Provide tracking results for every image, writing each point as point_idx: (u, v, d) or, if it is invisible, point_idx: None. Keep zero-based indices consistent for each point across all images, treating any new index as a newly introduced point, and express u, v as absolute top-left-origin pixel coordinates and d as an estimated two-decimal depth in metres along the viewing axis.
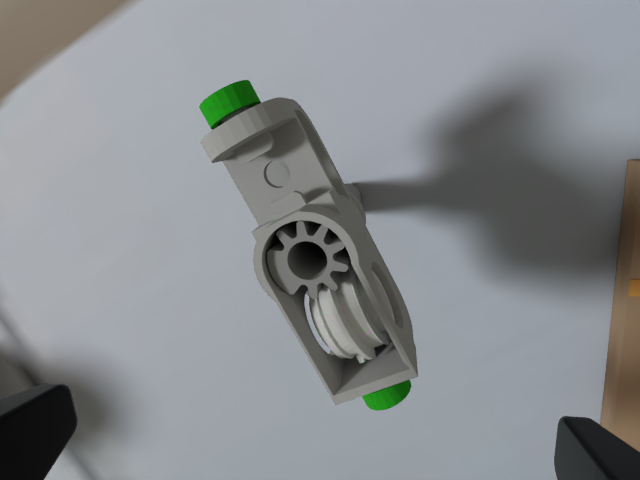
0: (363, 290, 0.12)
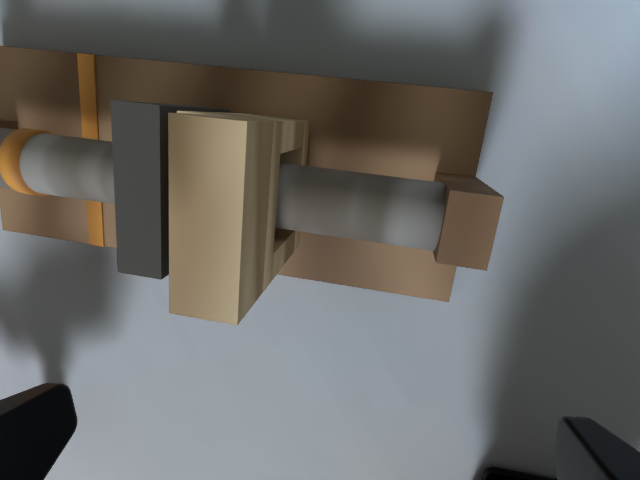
0: None
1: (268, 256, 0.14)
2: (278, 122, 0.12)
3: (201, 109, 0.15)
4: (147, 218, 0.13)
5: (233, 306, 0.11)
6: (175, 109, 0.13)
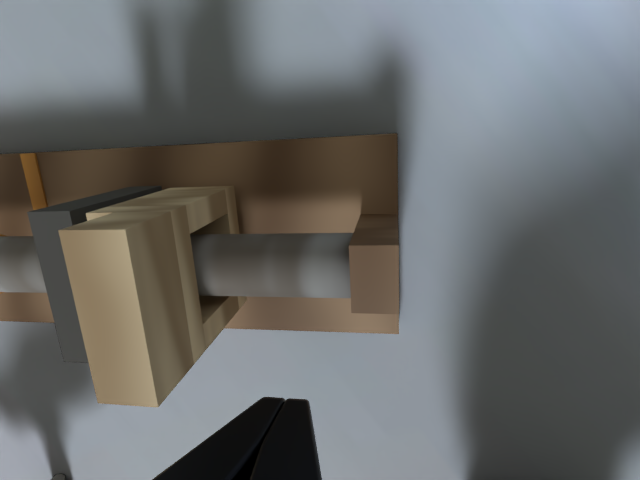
0: None
1: (195, 329, 0.15)
2: (178, 209, 0.13)
3: (123, 197, 0.16)
4: None
5: (151, 390, 0.12)
6: (90, 208, 0.14)
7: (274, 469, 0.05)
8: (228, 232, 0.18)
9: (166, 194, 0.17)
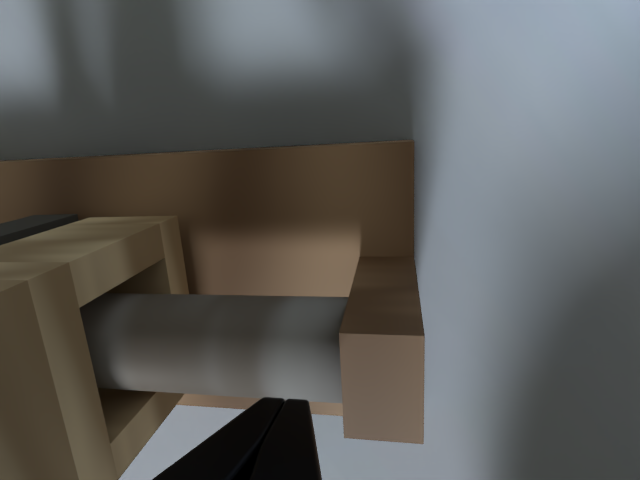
0: None
1: (92, 459, 0.09)
2: (49, 272, 0.08)
3: None
4: None
5: None
6: None
7: (274, 469, 0.05)
8: (167, 284, 0.12)
9: (68, 232, 0.11)
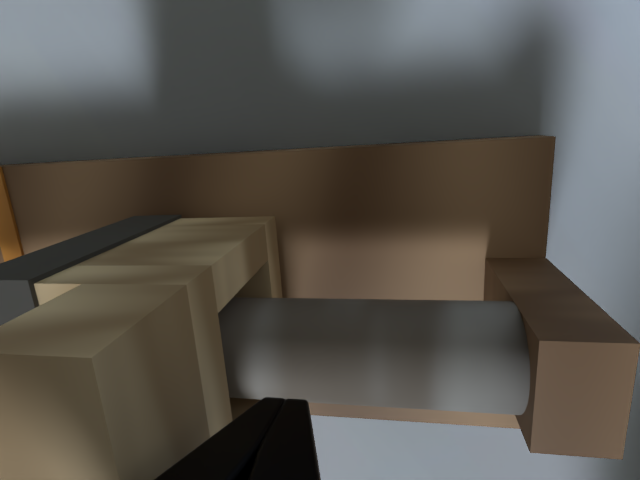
0: None
1: None
2: (199, 276, 0.07)
3: (126, 240, 0.10)
4: None
5: None
6: (68, 267, 0.08)
7: (273, 469, 0.05)
8: (268, 288, 0.12)
9: (175, 234, 0.11)
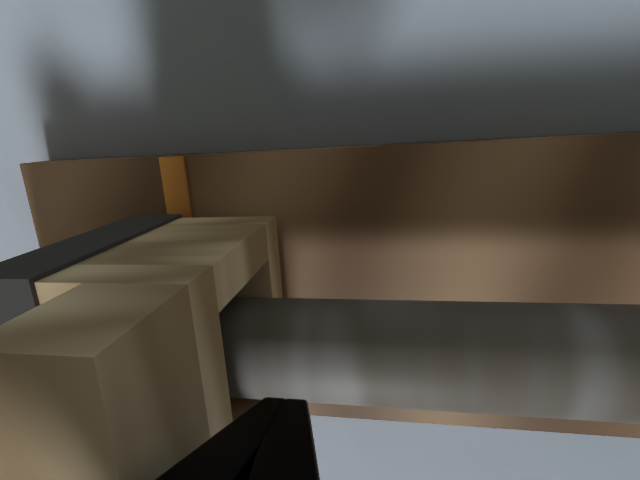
0: None
1: None
2: (201, 276, 0.07)
3: (126, 239, 0.10)
4: None
5: None
6: (69, 266, 0.08)
7: (272, 469, 0.05)
8: (268, 287, 0.12)
9: (175, 233, 0.11)
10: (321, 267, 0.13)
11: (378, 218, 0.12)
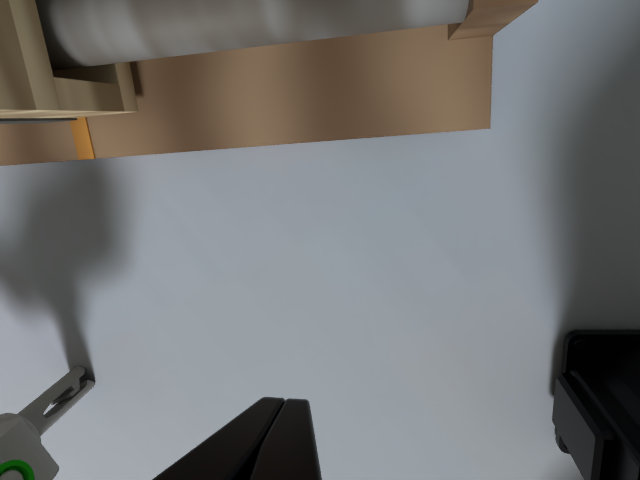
0: None
1: (38, 71, 0.12)
2: None
3: None
4: None
5: None
6: None
7: (274, 469, 0.05)
8: None
9: None
10: None
11: None
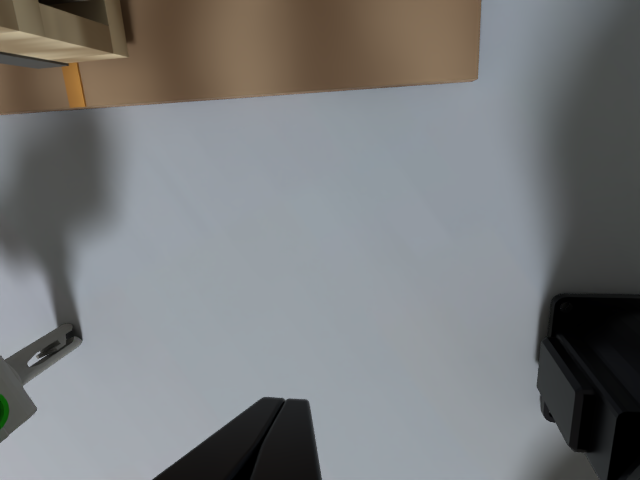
0: None
1: None
2: None
3: None
4: None
5: None
6: None
7: (274, 469, 0.05)
8: None
9: None
10: None
11: None
